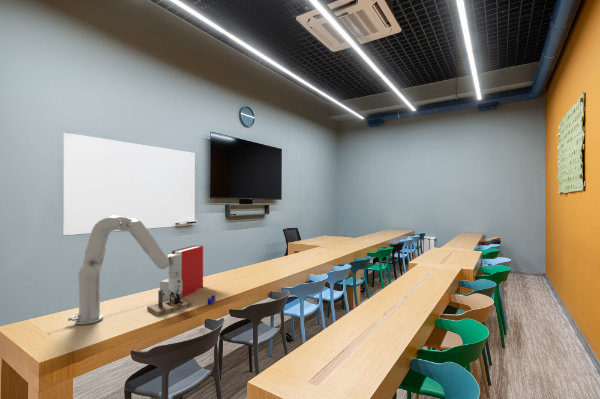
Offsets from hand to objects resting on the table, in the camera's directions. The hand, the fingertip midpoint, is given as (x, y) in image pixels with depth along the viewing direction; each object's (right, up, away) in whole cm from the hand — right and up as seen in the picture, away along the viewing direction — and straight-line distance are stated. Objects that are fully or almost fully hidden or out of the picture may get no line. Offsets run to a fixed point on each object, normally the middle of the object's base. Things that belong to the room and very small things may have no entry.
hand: (174, 302), depth 188 cm
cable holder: (+20, -4, +8) cm, 22 cm away
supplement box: (-11, -3, +16) cm, 20 cm away
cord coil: (0, -3, 0) cm, 3 cm away
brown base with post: (-2, -3, -2) cm, 4 cm away
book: (-3, -3, +32) cm, 33 cm away
